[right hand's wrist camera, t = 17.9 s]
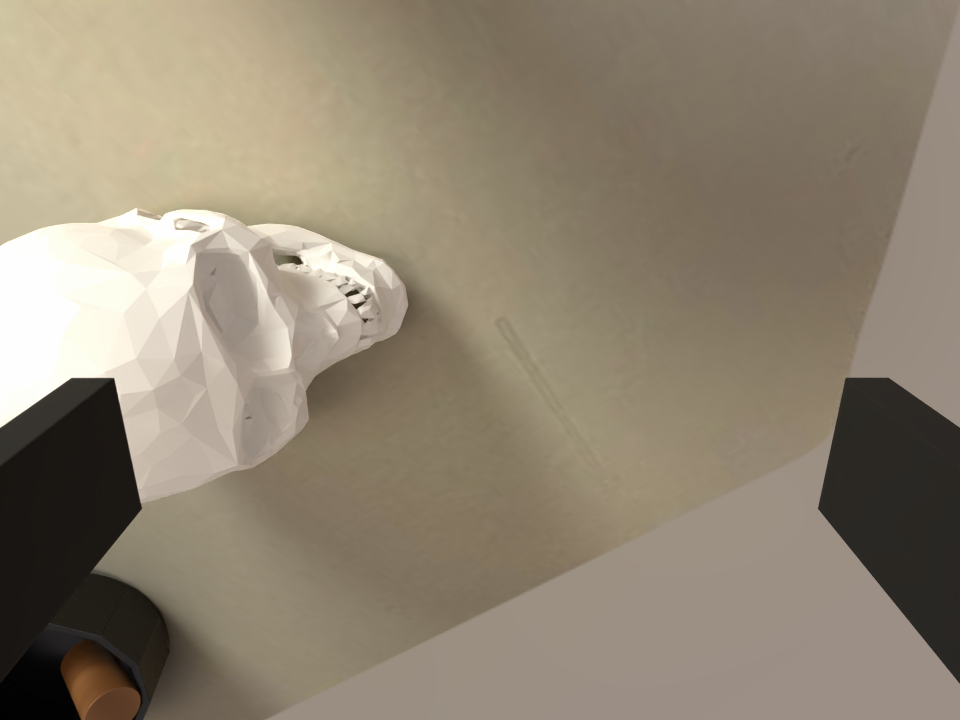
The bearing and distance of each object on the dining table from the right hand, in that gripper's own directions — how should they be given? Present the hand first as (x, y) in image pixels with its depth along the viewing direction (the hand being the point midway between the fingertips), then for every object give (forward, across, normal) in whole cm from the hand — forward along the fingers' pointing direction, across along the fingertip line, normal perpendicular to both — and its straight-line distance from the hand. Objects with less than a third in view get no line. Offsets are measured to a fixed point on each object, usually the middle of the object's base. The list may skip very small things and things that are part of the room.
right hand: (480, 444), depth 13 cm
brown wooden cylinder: (+26, -28, -32) cm, 50 cm away
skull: (+29, -15, -6) cm, 33 cm away
